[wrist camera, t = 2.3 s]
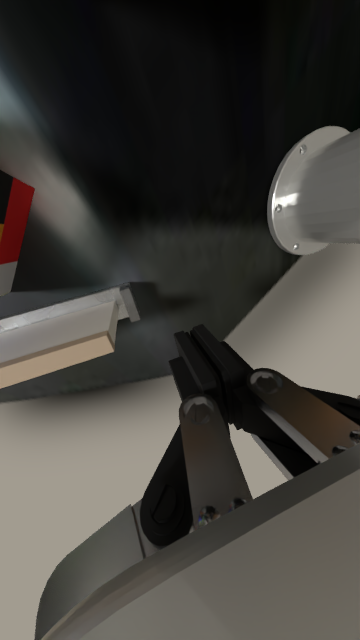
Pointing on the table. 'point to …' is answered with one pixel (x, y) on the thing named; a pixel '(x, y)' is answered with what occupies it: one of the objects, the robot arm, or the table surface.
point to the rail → (76, 307)
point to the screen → (57, 343)
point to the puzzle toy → (12, 225)
